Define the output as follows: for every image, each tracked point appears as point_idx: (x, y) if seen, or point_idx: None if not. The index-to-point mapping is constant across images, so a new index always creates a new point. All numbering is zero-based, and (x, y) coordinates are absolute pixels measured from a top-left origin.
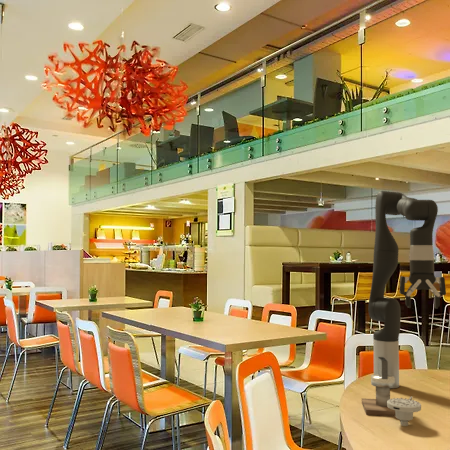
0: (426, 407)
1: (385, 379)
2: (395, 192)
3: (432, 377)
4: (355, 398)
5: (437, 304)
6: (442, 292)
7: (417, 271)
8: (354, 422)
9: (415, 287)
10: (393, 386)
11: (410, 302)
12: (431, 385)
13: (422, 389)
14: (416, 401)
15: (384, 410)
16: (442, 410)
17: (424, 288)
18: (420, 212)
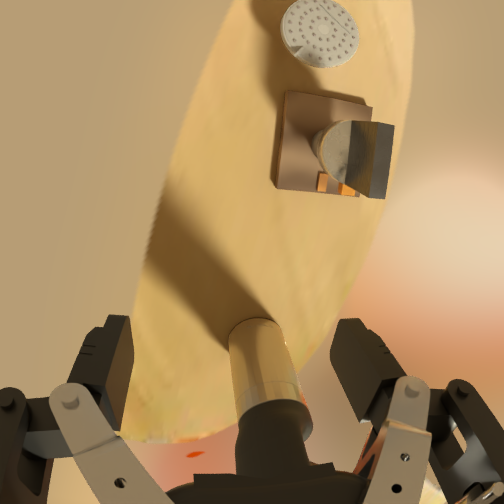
0: (212, 172)
1: (357, 120)
2: None
3: (143, 402)
4: (356, 229)
5: (105, 331)
6: (17, 414)
7: None
8: (397, 63)
9: (389, 464)
10: (325, 128)
11: (361, 343)
12: (154, 353)
13: (180, 323)
14: (291, 30)
15: (335, 101)
16: (180, 152)
17: (246, 487)
18: None
